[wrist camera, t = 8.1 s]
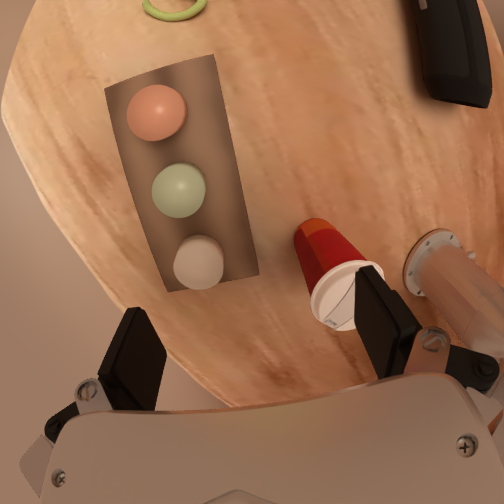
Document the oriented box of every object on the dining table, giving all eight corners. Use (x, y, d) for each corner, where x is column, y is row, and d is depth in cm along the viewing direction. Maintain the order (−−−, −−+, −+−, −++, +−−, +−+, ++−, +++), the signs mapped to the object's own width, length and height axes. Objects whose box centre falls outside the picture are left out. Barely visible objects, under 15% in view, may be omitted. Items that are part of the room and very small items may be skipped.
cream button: (217, 230, 30) (216, 241, 27) (228, 271, 32) (228, 284, 30) (171, 240, 30) (166, 252, 27) (185, 279, 32) (182, 293, 30)
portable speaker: (380, -52, 15) (415, -77, 7) (432, -32, 16) (470, -47, 7) (410, 95, 28) (460, 98, 19) (458, 105, 28) (506, 113, 19)
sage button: (200, 155, 27) (197, 160, 24) (211, 202, 29) (210, 211, 27) (152, 168, 27) (145, 174, 24) (165, 213, 29) (160, 223, 27)
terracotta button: (182, 80, 22) (176, 77, 20) (192, 130, 25) (188, 132, 22) (131, 96, 22) (121, 95, 20) (142, 144, 25) (134, 148, 22)
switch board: (214, 59, 25) (213, 54, 22) (257, 262, 37) (259, 275, 35) (114, 90, 25) (104, 88, 22) (171, 279, 37) (167, 292, 35)
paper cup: (312, 272, 39) (345, 344, 26) (273, 241, 36) (296, 312, 24) (352, 234, 36) (403, 294, 24) (316, 197, 34) (364, 250, 21)
